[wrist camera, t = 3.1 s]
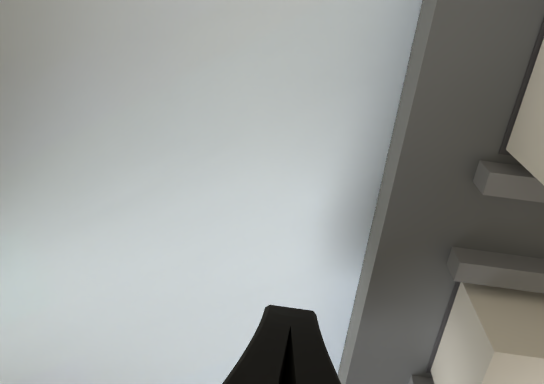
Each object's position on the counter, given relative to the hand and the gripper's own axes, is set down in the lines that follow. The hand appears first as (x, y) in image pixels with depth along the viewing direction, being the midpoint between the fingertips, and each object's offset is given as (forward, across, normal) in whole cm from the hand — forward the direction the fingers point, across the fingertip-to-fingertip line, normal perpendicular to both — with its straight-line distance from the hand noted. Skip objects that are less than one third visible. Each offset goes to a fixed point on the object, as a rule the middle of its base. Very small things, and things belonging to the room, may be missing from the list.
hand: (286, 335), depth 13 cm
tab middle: (+1, -6, 0) cm, 6 cm away
